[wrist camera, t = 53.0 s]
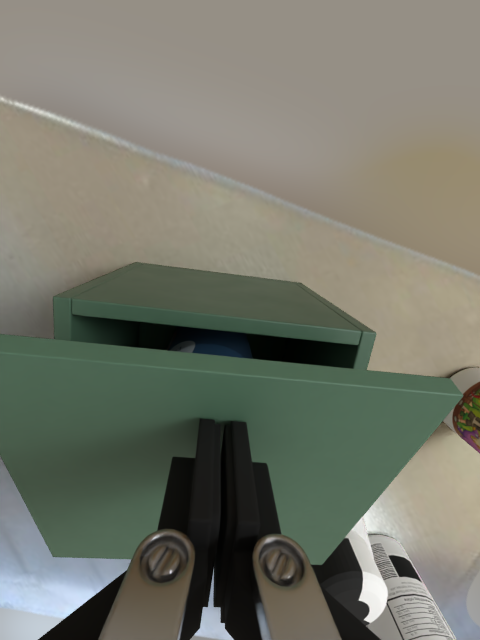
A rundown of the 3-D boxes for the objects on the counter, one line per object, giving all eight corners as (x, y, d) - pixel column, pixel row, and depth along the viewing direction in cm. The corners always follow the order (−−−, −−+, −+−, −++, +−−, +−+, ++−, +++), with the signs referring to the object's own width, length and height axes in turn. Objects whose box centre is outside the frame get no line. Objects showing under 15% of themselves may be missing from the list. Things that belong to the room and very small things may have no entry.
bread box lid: (-37, 329, 9) (-58, 347, 8) (450, 377, 11) (464, 396, 10) (59, 540, 18) (52, 557, 17) (319, 549, 19) (322, 565, 19)
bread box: (135, 261, 28) (52, 296, 14) (301, 282, 30) (377, 332, 16) (129, 403, 32) (59, 541, 18) (276, 414, 34) (318, 549, 20)
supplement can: (413, 553, 41) (517, 726, 27) (363, 586, 42) (437, 769, 28) (380, 520, 39) (474, 689, 25) (328, 555, 40) (389, 736, 26)
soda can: (161, 321, 29) (124, 382, 18) (229, 292, 29) (238, 336, 17) (192, 382, 31) (177, 472, 20) (256, 356, 31) (279, 432, 19)
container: (284, 515, 38) (317, 656, 25) (266, 467, 36) (292, 595, 23) (345, 496, 38) (407, 628, 25) (330, 446, 35) (391, 564, 23)
